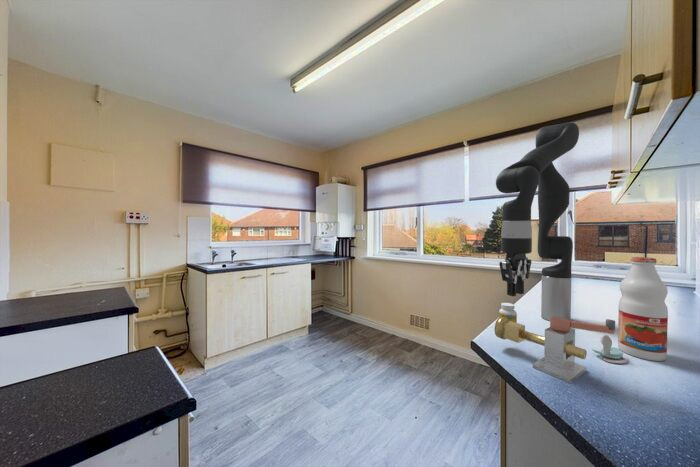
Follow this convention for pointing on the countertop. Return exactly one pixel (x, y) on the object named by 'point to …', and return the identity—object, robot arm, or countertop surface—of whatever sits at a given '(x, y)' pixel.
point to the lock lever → (581, 325)
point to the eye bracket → (559, 356)
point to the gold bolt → (528, 336)
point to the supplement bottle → (508, 312)
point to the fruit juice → (643, 312)
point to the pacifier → (609, 355)
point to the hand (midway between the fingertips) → (515, 294)
